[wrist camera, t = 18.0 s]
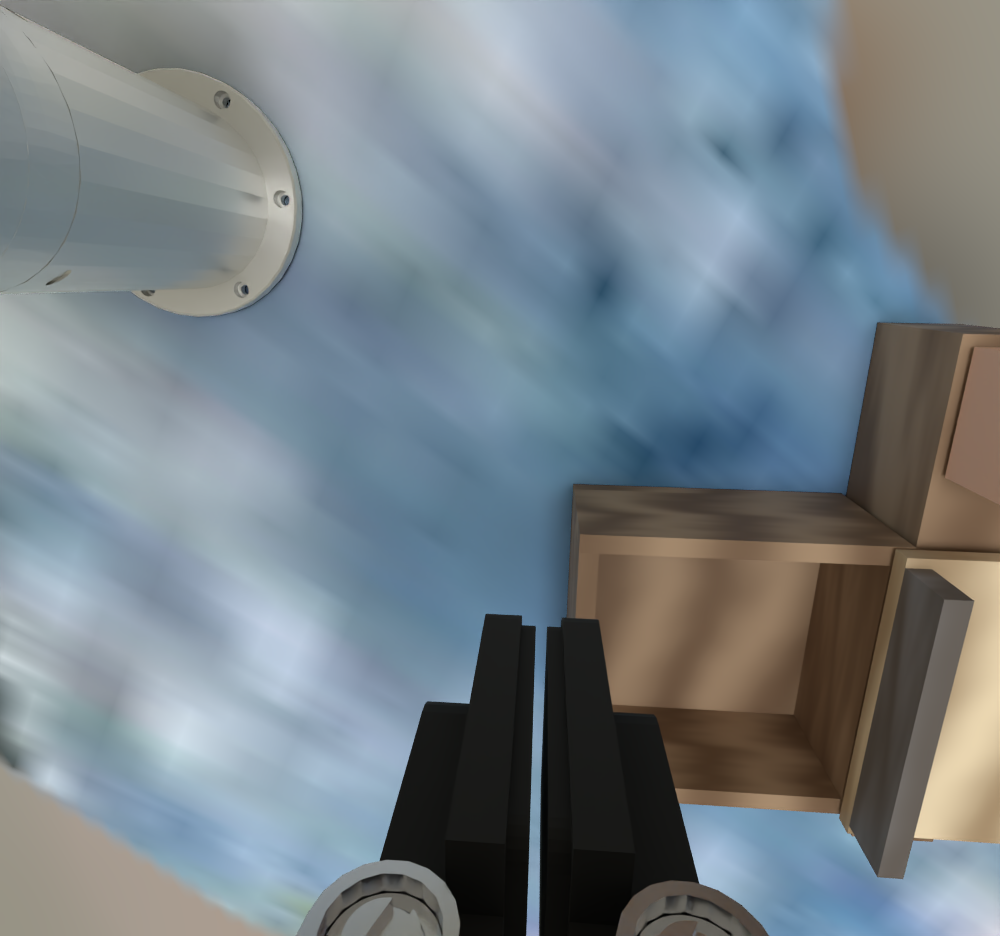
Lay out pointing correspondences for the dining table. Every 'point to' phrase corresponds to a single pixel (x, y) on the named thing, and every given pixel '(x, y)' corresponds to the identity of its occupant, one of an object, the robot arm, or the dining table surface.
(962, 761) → the toolbox lid
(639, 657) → the toolbox
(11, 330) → the dining table surface
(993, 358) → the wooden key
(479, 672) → the robot arm
